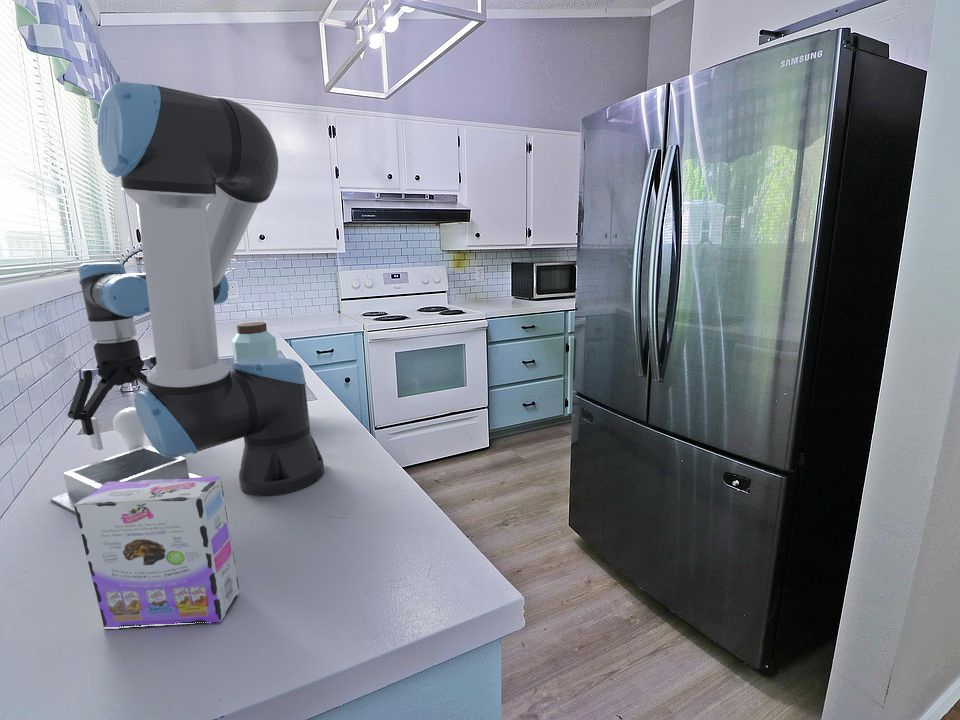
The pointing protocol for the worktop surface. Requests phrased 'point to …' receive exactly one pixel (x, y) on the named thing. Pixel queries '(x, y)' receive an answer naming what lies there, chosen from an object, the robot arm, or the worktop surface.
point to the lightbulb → (129, 427)
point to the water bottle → (253, 341)
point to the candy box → (159, 551)
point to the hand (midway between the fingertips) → (133, 437)
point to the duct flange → (120, 473)
